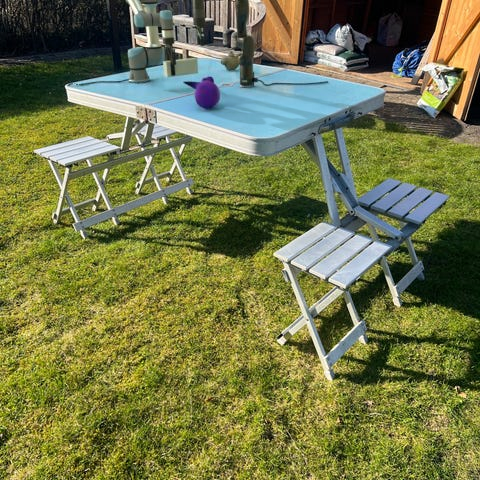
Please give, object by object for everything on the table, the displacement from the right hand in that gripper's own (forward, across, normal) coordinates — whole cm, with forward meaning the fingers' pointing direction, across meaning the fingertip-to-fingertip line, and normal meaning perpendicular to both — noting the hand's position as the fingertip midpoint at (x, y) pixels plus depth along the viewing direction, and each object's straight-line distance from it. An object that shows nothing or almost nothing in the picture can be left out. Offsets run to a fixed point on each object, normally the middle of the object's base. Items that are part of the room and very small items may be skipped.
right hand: (200, 45), depth 286 cm
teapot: (+30, +73, -42) cm, 89 cm away
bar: (+20, +15, +11) cm, 27 cm away
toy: (+30, -36, +8) cm, 47 cm away
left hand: (+19, +13, +18) cm, 29 cm away
